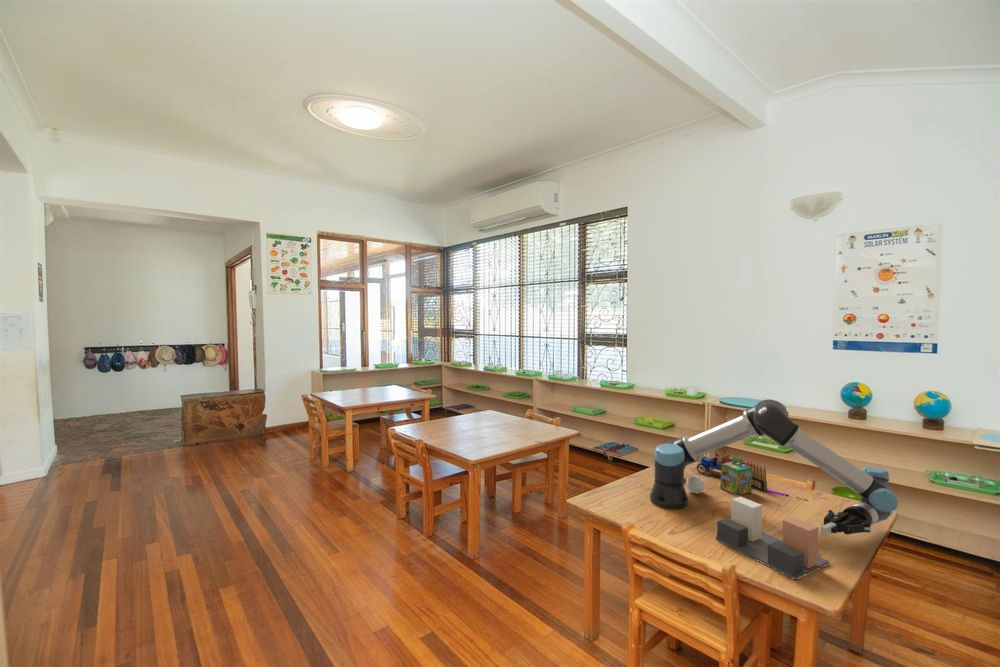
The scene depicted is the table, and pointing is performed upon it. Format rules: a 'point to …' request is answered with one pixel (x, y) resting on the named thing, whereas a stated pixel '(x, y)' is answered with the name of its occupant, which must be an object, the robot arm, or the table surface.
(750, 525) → the off-white key
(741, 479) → the chalk box
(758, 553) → the key console
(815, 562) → the terracotta key
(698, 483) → the geometric ball
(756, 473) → the ammunition clip
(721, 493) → the table surface
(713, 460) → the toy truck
